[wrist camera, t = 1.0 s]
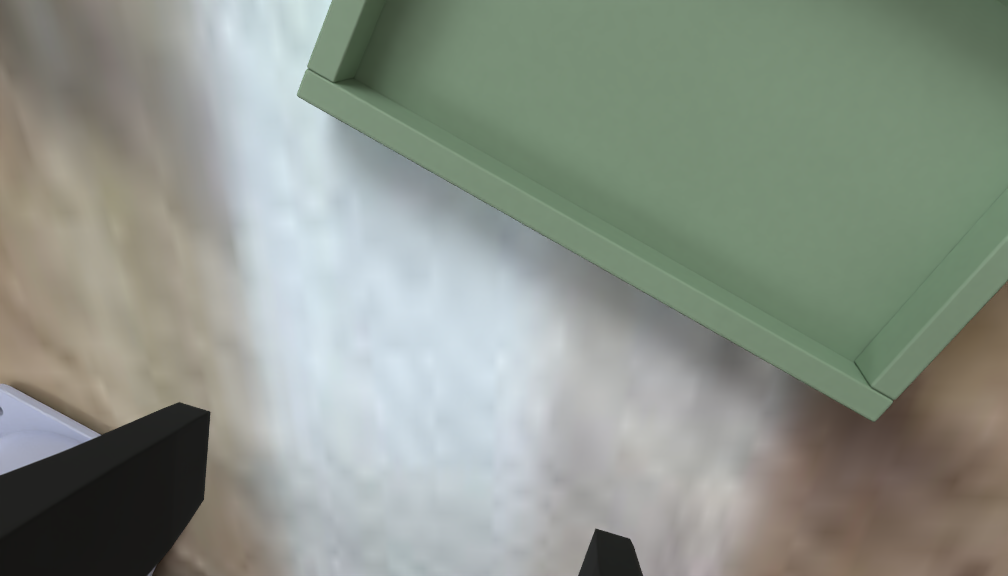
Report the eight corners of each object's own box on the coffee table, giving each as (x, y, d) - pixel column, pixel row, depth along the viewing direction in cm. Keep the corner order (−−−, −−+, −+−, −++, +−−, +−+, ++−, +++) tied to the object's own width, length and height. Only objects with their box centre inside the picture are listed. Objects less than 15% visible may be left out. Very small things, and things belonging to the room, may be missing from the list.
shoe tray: (852, 387, 20) (874, 423, 19) (326, 88, 20) (295, 96, 18) (1152, 52, 16) (1220, 58, 14) (496, -341, 15) (478, -389, 14)
